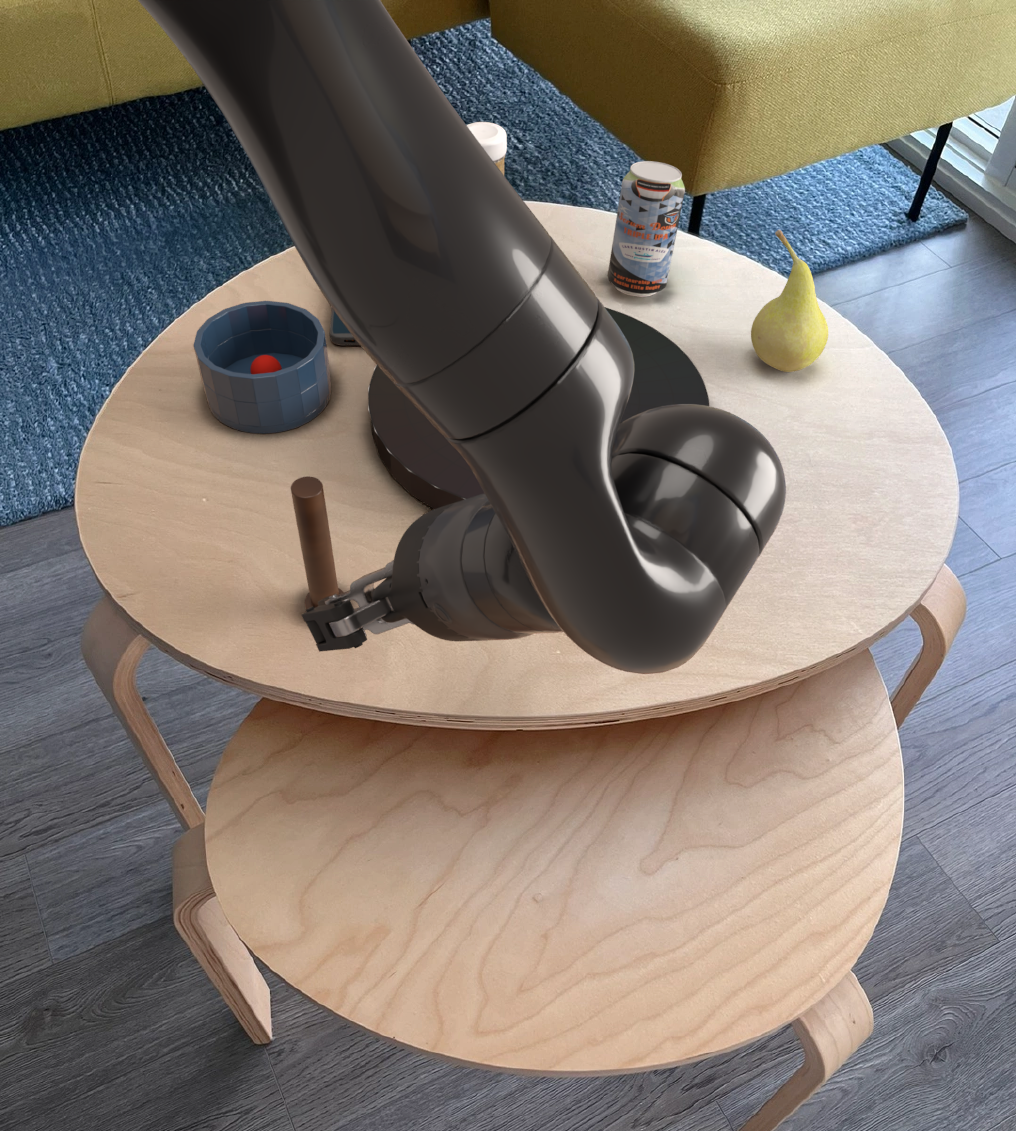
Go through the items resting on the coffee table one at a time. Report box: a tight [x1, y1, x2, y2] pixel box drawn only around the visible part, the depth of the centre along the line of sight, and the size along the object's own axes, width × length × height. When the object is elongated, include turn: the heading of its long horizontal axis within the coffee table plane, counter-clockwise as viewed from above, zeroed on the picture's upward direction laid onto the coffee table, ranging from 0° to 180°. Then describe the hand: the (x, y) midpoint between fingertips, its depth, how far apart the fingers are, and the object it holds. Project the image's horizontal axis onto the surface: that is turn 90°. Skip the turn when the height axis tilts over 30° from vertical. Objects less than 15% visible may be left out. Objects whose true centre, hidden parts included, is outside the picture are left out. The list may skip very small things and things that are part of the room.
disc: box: [367, 306, 710, 510], centre depth 100 cm, size 30×30×3 cm
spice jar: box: [466, 121, 508, 176], centre depth 112 cm, size 5×5×13 cm
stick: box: [290, 475, 344, 610], centre depth 82 cm, size 3×3×12 cm
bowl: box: [193, 300, 332, 435], centre depth 100 cm, size 11×11×6 cm
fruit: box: [750, 229, 829, 373], centre depth 102 cm, size 7×8×12 cm
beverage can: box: [607, 160, 686, 298], centre depth 110 cm, size 6×7×12 cm
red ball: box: [250, 355, 282, 374], centre depth 101 cm, size 3×3×3 cm
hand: (384, 586), depth 73 cm, fingers open, 8 cm apart
